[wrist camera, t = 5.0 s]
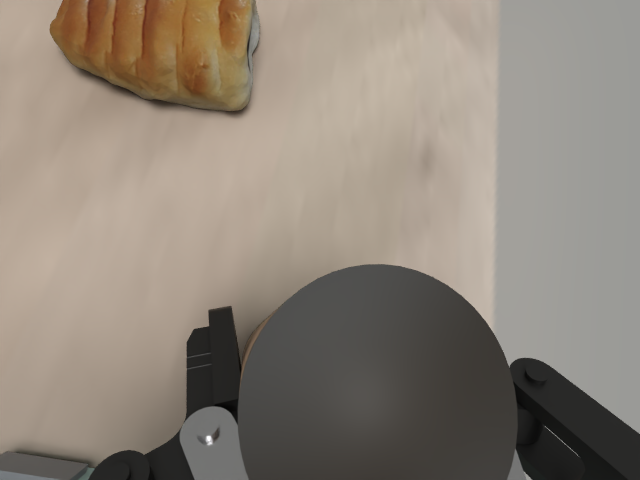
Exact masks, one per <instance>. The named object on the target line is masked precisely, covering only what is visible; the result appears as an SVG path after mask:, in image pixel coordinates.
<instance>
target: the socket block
mask: <svg viewBox="0 0 640 480" xmlns="http://www.w3.org/2000/svg"><path fill="white" fill-rule="evenodd" d="M88 465H89V464H85V463H78V462H72V461H66V460H59V459H53V458H46V457H40V456H34V455H27V454H21V453H15V452H8V451H7V452H5V453H3V454H1V455H0V480H88V479H89V477H90V475H91V473H92V472H93V471H94V469H95V468H89V467H88Z"/></svg>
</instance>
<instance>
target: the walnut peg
mask: <svg viewBox="0 0 640 480" xmlns="http://www.w3.org/2000/svg"><path fill="white" fill-rule="evenodd" d="M517 429H518V420H517V402H516V394H515V388H514V384H513V380H512V376H511V372H510V368H509V366H508V364H507V361H506V358H505V355H504V352H503V350H502V349H501V346H500V344H499V342H498V340H497V339H496V337H495V335H494V333H493V332H492V330H491V329H490V327H489V326H488V324H487V323H486V321H485V320H484V319H483V318H482V317H481V315H480V314H479V313H478V312H477V311H476V309H475V308H474V307H473V306H472V305H471V304H470V303H469V302H468V301H467V300H465V299H464V298H463V297H462V296H461V295H460V294H458V293H457V292H456V291H454V290H453V289H452V288H450V287H449V286H448V285H446V284H444V283H442V282H440V281H439V280H437V279H435V278H433V277H431V276H429V275H426V274H424V273H421V272H419V271H416V270H412V269H408V268H405V267H401V266H393V265H385V264H375V265H361V266H354V267H348V268H345V269H342V270H338V271H335V272H332V273H330V274H327V275H325V276H323V277H321V278H318V279H316V280H315V281H313V282H311V283H310V284H308V285H307V286H305V287H303V288H302V289H300V290H299V291H298V292H297V293H295V294H294V295H293V296H292V297H291V298H289V299H288V300H287V301H286V302H285V303H284V304H282V305H281V306H280V307H279V308H278V309H277V310H276V311H275V312H273V313H272V314H271V315H270V316H269V317H268V318H267V319H266V320H265V321H263V322H262V323H261V324H260V325H259V326H258V327H257V328H256V329H255V330H254V332H253V333H252V334H251V336H250V338H249V340H248V341H247V344H246V346H245V349H244V353H243V359H242V368H241V379H240V390H239V400H238V435H239V443H240V451H241V455H242V459H243V463H244V467H245V471H246V473H247V476H248V479H249V480H507V478H508V475H509V472H510V469H511V467H512V462H513V458H514V453H515V448H516V439H517Z"/></svg>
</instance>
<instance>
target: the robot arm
mask: <svg viewBox="0 0 640 480" xmlns="http://www.w3.org/2000/svg"><path fill="white" fill-rule="evenodd" d="M510 372H511V376H512V380H513V384H514V388H515V394H516V402H517V420H518V429H517V439H516V448H515V453H514V458H513V462H512V467H511V469H510V472H509V475H508V478H507V480H526V477H525V474H524V472H525V473H526V474H527V475H528V476H529V477H530V478H531V479H532V480H640V434H639V433H637V432H636V431H635V430H633V429H632V428H631V427H630V426H628V425H627V424H625V423H624V422H623V421H622V420H620V419H619V418H618V417H616V416H615V415H614V414H612V413H611V412H610V411H608V410H607V409H606V408H604V407H603V406H602V405H600V404H599V403H598V402H597V401H595V400H594V399H593V398H591V397H590V396H589V395H587V394H586V393H585V392H583V391H582V390H581V389H579V388H578V387H576V386H575V385H574V384H573V383H571V382H570V381H569V380H567V379H566V378H565V377H564V376H562V375H561V374H559V373H558V372H557V371H556V370H554V369H553V368H551V367H550V366H549V365H547V364H545V363H544V362H541V361H539V360H536V359H532V358H520V359H517V360H515V361H514V362H513V363H512V364H511V365H510ZM240 379H241V364H240V356H239V349H238V343H237V337H236V331H235V325H234V319H233V313H232V307H231V306H227V307H222V308H216V309H211V310H209V326H208V327H203V328H198V329H194V330H193V332H192V333H191V335H190V337H189V339H188V341H187V413H186V418H185V421H184V424H183V426H182V427H181V429H180V430H179V432H178V433H177V434H176V435H175V436H174V437H173V438H172V439H171V440H169V441H168V442H167V443H165V444H163V445H162V446H160V447H158V448H156V449H154V450H153V451H151V452H149V453H147V454H145V455H143V454H142V453H140V452H137V451H132V450H127V451H121V452H118V453H115V454H113V455H111V456H109V457H108V458H106V459H105V460H103V461H102V462H101V463H100V464H99V465H98V466H97V467H96V468H95V469H94V471H93V472H92V473H91V475H90V477H89V479H88V480H249V479H248V476H247V473H246V471H245V467H244V463H243V459H242V455H241V451H240V443H239V435H238V400H239V390H240ZM545 426H546V427H547V428H548V429H549V430H551V431H552V432H553V433H554V434H555V435H556V436H557V437H558V438H560V439H561V440H562V441H563V442H564V443H565V444H566V445H568V446H569V447H570V448H571V449H572V450H573V451H574V452H576V453H577V454H578V456H577V455H576V454H575V453H574V452H573V451H572V450H571V449H570V448H568V447H567V446H566V445H565V444H564V443H563V442H562V441H560V440H559V439H558V438H557V437H556V436H555V435H554V434H552V433H551V432H550V431H549V430H548V429H547V428H546V427H545ZM523 471H524V472H523Z"/></svg>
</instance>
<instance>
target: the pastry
mask: <svg viewBox="0 0 640 480" xmlns="http://www.w3.org/2000/svg"><path fill="white" fill-rule="evenodd" d="M259 29H260V22H259V15H258V13H257V7H256V1H255V0H63V1H62V4H61V6H60V8H59V10H58V13H57V16H56V18H55V19H54V20H53V21H52V23H51V24H50V34H51V36H52V38H53V39H54V41H55V42H56V44H57V45H58V46H59V48H60V49H61V50H62V51H63V53H64V54H65V56H66V57H67V58H68V60H69V61H70V62H71V63H72V64H73V65H74V66H76V67H78V68H81V69H84V70H87V71H89V72H90V73H92V74H94V75H96V76H100V77H103V78H105V79H106V80H107V81H109V82H110V83H112V84H114V85H118V86H121V87H123V88H126V89H128V90H130V91H132V92H134V93H136V94H137V95H139V96H140V97H141V98H143V99H147V100H152V99H158V100H164V101H166V102H171V103H178V104H182V105H186V106H190V107H193V108H201V109H211V110H216V111H222V110H226V111H234V110H241V109H243V108H244V107H245V106H246V105H247V104H248V102H249V98H250V92H251V88H252V82H253V74H252V70H253V65H252V53H253V51H254V49H255V48H256V46H257V44H258V41H259Z"/></svg>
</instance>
